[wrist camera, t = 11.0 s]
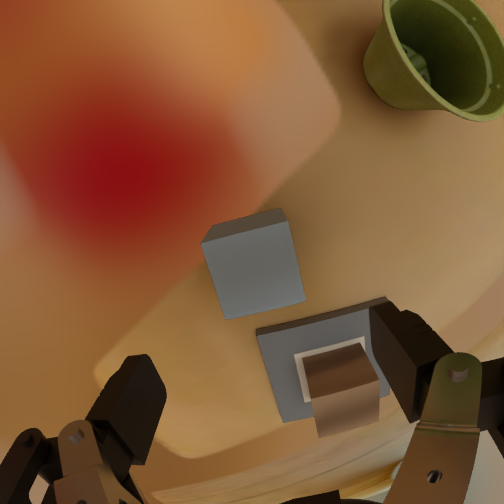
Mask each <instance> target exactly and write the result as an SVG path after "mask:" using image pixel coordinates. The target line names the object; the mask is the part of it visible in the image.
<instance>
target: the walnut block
mask: <svg viewBox="0 0 504 504" xmlns="http://www.w3.org/2000/svg"><path fill="white" fill-rule="evenodd" d="M302 361H303V365H304V370H305V374H306V379H307V384H308V388H309V393H310V398H311V403H312V407H313V412H314V417H315V422H316V426H317V432H318V436H319V438H322V437H326V436H330V435H334V434H338V433H341V432H345V431H349V430H352V429H356V428H359V427H362V426H366V425H369V424H372V423H375V422H378V421H379V394H380V380H379V378H378V376H377V374H376V372H375V370H374V368H373V366H372V364H371V362H370V360H369V358H368V356H367V355H366V353H365V351H364V349H363V347H362V345H361V343H360V342H359V343H356V344H352V345H349V346H345V347H342V348H338V349H335V350H331V351H327V352H323V353H319V354H315V355H311V356H307V357H303V358H302Z"/></svg>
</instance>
